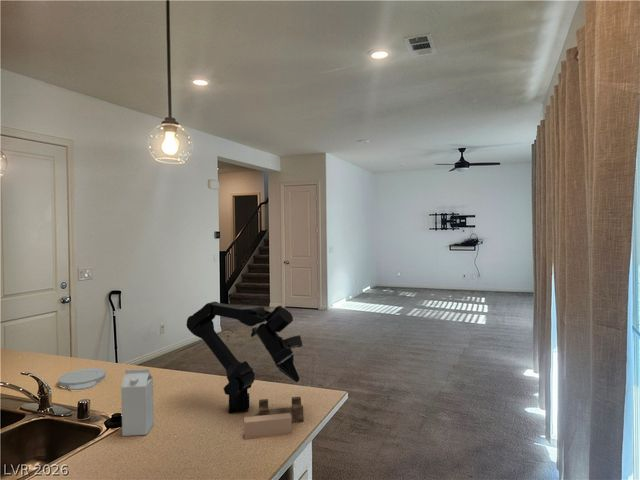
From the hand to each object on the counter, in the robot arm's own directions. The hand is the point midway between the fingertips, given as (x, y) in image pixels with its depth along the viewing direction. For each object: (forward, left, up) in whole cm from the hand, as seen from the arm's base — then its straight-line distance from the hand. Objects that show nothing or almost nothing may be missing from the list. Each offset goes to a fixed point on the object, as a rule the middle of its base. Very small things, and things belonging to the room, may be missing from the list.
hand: (298, 380), depth 132 cm
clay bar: (-10, -5, -14) cm, 18 cm away
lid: (-83, +51, -14) cm, 99 cm away
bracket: (-5, +5, -13) cm, 15 cm away
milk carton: (-49, +4, -14) cm, 51 cm away
